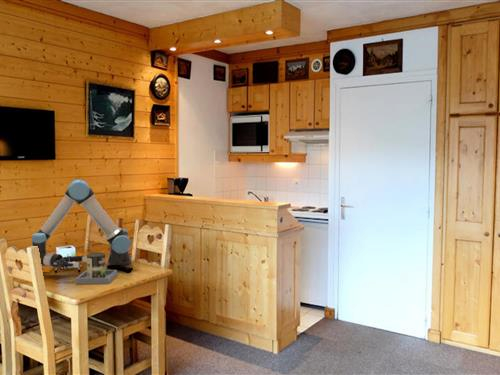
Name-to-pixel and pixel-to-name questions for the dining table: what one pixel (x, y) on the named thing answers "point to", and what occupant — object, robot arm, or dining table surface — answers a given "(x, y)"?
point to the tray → (84, 280)
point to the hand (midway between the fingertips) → (85, 262)
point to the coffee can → (96, 265)
